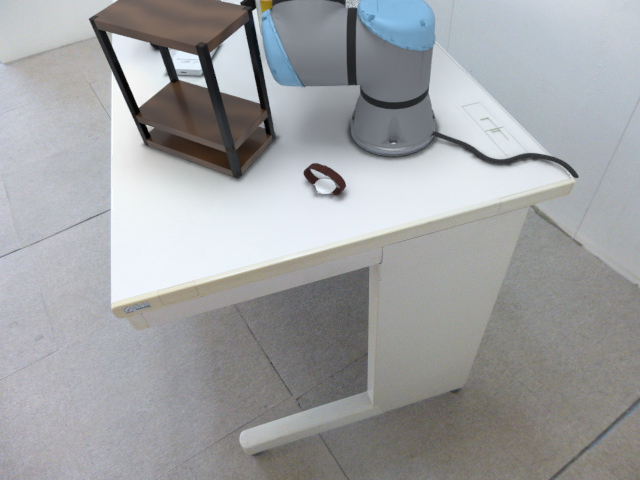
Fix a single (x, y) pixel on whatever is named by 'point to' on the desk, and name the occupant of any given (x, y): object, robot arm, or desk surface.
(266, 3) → the supplement bottle
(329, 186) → the watch
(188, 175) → the desk surface
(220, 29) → the rack
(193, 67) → the hard drive
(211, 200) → the desk surface
